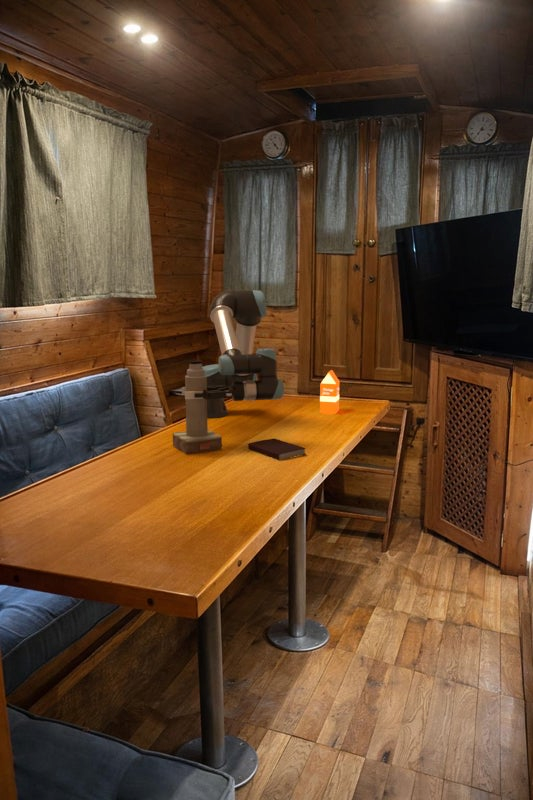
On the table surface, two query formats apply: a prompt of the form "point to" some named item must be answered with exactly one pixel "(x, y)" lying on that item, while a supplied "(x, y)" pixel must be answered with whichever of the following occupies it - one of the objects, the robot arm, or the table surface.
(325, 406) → the orange juice
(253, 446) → the book
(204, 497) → the table surface
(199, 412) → the thermos bottle
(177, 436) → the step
